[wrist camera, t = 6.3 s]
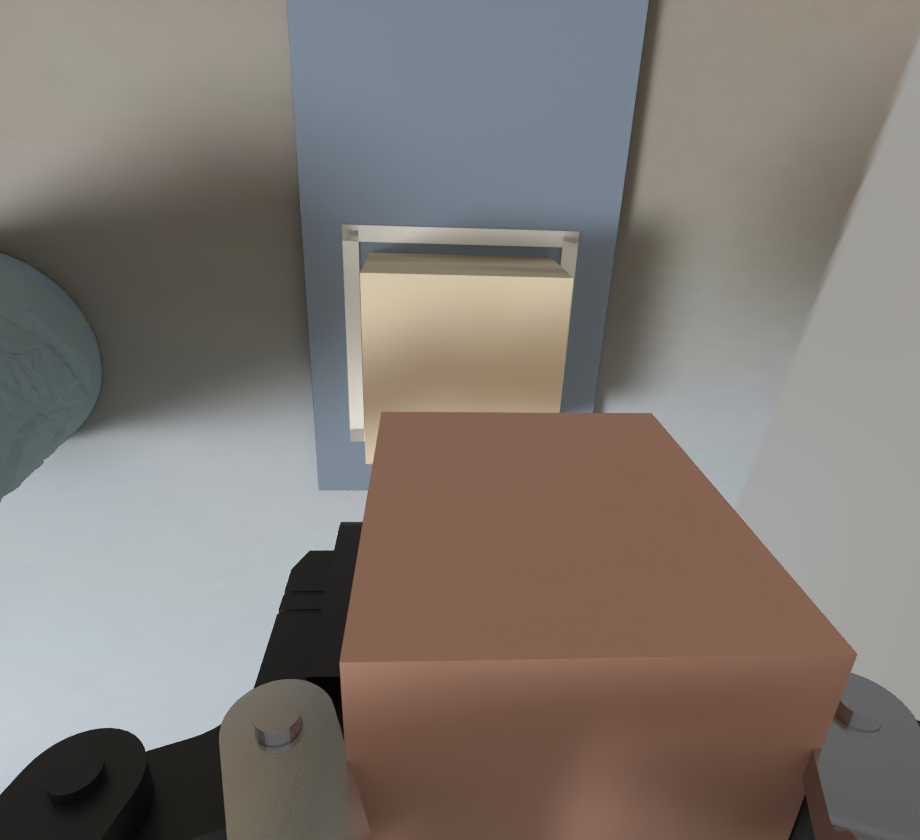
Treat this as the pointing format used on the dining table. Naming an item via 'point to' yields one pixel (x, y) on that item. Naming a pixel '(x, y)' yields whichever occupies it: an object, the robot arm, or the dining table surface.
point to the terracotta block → (573, 640)
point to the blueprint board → (455, 165)
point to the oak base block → (461, 334)
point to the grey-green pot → (41, 370)
